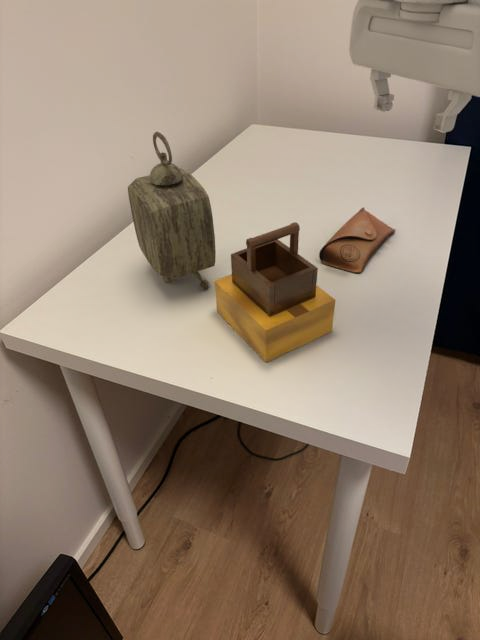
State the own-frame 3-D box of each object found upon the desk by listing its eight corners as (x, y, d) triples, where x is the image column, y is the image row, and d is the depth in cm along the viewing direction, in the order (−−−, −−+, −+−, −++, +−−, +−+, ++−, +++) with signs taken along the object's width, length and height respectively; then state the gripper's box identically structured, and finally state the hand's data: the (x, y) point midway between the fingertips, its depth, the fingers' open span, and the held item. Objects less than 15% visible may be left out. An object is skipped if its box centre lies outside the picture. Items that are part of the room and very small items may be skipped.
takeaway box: (332, 331, 73) (335, 299, 69) (266, 362, 68) (266, 330, 64) (278, 286, 82) (278, 255, 78) (216, 311, 78) (214, 279, 74)
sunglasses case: (363, 273, 83) (348, 239, 81) (329, 280, 88) (314, 248, 86) (398, 228, 95) (385, 197, 93) (366, 237, 100) (353, 208, 98)
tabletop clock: (219, 291, 82) (207, 143, 66) (168, 308, 79) (143, 156, 63) (186, 252, 92) (169, 115, 76) (140, 265, 89) (112, 126, 73)
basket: (315, 297, 69) (320, 238, 63) (269, 316, 66) (269, 256, 60) (275, 265, 76) (276, 209, 70) (232, 282, 73) (228, 225, 67)
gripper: (554, -18, 43) (505, 138, 52) (387, -29, 57) (371, 96, 66) (509, -12, 41) (466, 151, 50) (346, -25, 54) (335, 104, 63)
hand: (411, 119), depth 58 cm, fingers open, 8 cm apart
